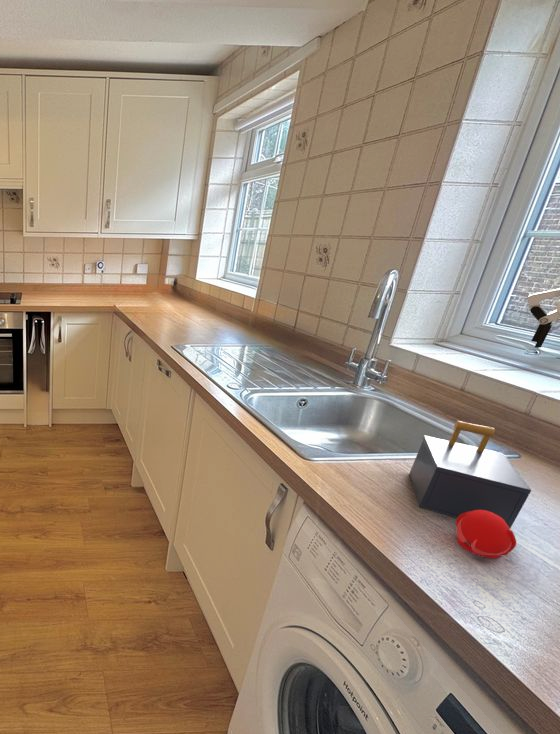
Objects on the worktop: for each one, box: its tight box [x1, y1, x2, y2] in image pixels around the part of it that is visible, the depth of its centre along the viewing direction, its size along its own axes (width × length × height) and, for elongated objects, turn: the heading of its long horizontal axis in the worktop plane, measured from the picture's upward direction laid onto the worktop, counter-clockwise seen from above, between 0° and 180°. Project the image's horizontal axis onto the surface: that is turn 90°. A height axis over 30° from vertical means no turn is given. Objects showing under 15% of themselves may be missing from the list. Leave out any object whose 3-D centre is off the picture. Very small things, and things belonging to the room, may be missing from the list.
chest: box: [409, 440, 530, 530], centre depth 74 cm, size 13×11×8 cm
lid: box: [422, 420, 532, 495], centre depth 72 cm, size 14×11×6 cm
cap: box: [455, 510, 517, 559], centre depth 63 cm, size 8×6×6 cm
